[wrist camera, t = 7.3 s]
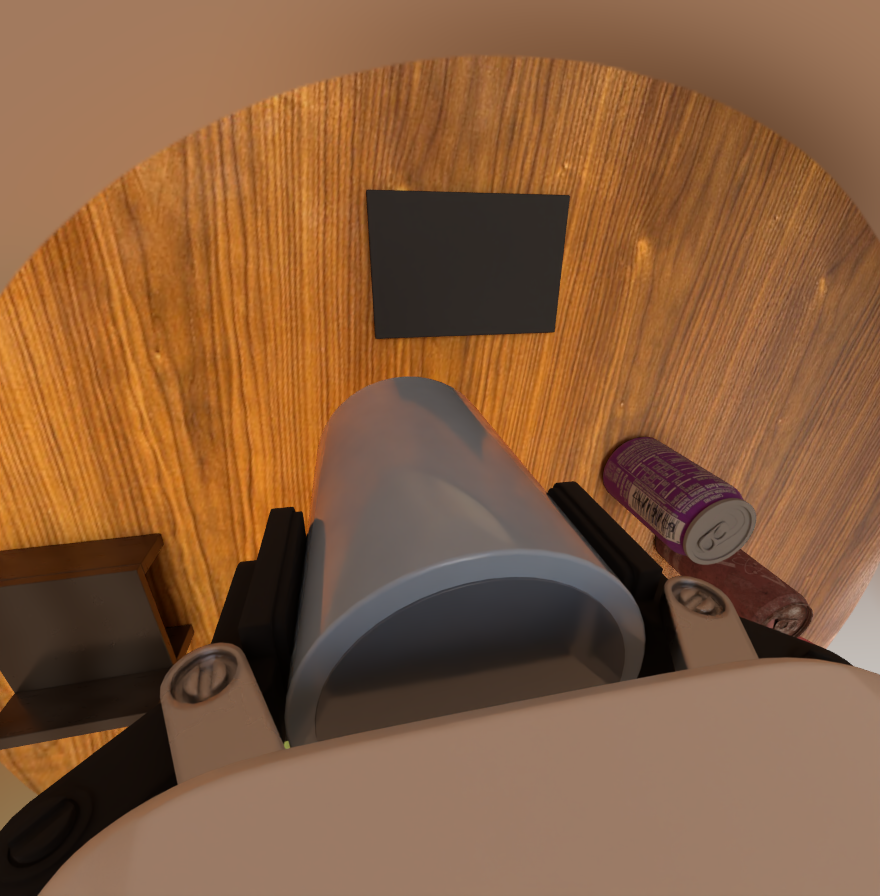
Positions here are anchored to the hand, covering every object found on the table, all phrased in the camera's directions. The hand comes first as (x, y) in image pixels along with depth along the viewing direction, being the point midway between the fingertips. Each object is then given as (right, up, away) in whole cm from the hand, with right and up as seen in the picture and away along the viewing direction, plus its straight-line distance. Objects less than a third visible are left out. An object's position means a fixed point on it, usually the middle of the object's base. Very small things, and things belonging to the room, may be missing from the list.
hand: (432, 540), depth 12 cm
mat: (+2, +17, +21) cm, 27 cm away
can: (+28, -8, +38) cm, 48 cm away
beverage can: (+20, +1, +32) cm, 38 cm away
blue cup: (-1, +2, +5) cm, 5 cm away
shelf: (-30, -11, +26) cm, 41 cm away
